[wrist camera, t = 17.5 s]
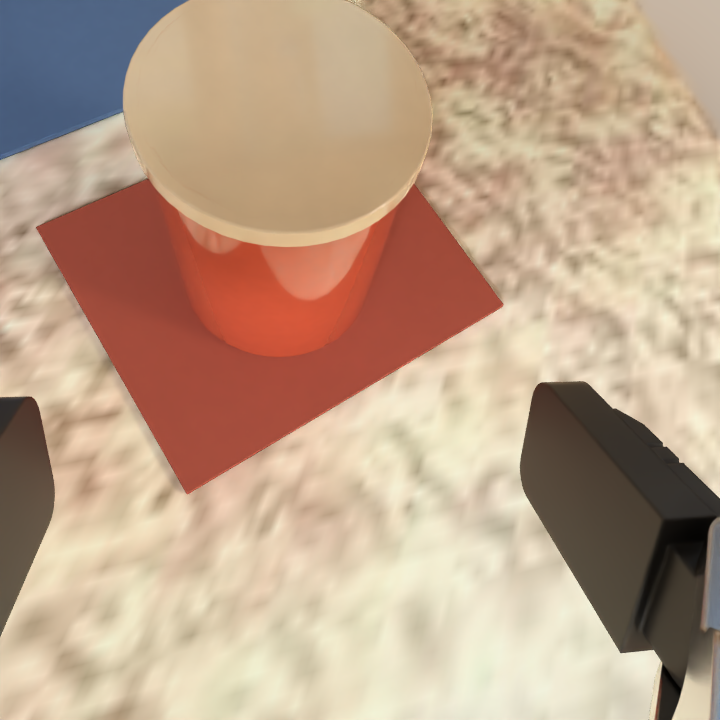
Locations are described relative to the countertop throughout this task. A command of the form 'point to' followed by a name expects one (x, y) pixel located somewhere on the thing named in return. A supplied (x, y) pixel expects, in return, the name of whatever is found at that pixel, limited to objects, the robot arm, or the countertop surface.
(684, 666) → the robot arm
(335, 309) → the red tapered cylinder
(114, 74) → the blue mat
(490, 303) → the rust mat
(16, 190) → the countertop surface
